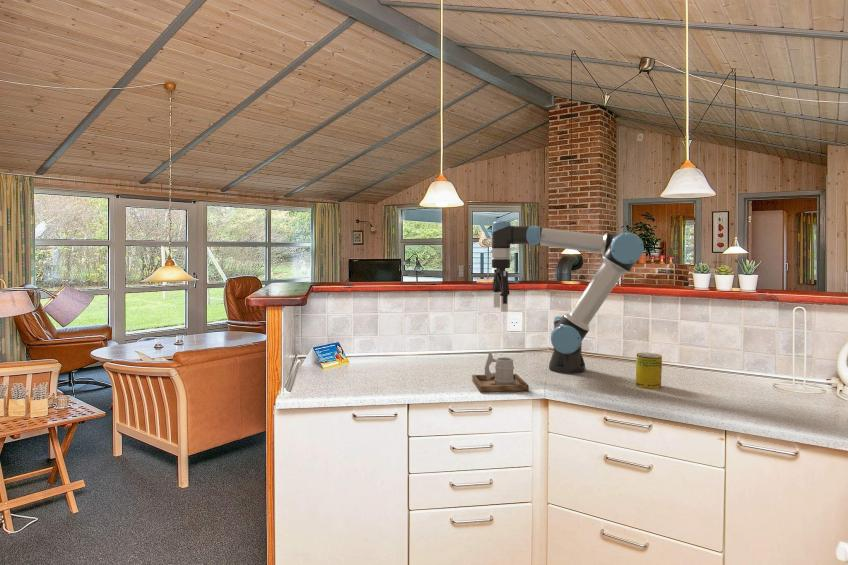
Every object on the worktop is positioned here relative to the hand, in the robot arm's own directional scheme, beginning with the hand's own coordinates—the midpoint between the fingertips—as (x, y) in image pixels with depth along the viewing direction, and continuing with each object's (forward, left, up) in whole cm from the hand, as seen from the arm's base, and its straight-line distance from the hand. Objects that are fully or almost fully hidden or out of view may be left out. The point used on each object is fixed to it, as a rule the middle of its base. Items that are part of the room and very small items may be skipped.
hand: (500, 309), depth 231 cm
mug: (+5, +20, -26) cm, 33 cm away
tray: (+5, +21, -27) cm, 34 cm away
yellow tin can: (-52, +26, -27) cm, 64 cm away
